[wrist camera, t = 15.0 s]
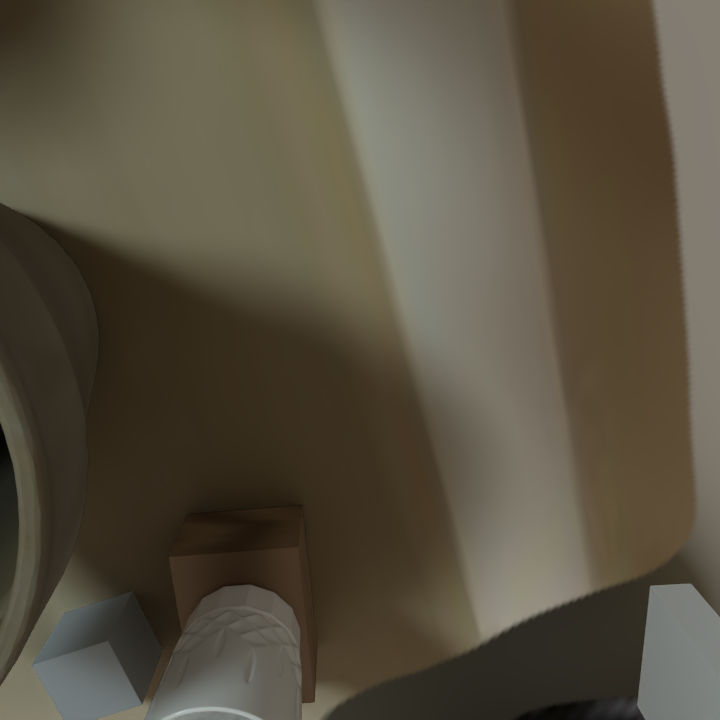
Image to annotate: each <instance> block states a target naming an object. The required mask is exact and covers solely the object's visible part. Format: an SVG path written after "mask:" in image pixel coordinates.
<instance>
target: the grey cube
mask: <svg viewBox="0 0 720 720" xmlns="http://www.w3.org/2000/svg"><path fill="white" fill-rule="evenodd" d="M161 652H162V648H161V646H160V644H159V642H158V640H157V638H156V636H155V634H154V632H153V630H152V628H151V626H150V624H149V622H148V620H147V619H146V617H145V615H144V613H143V611H142V609H141V607H140V605H139V603H138V601H137V599H136V597H135V595H134V593H133V591H131V592H128V593H125V594H122V595H119V596H116V597H113V598H110V599H107V600H103V601H100V602H97V603H94V604H91V605H88V606H85V607H82V608H79V609H76V610H73V611H70V612H66V613H64V614H63V616H62V618H61V619H60V621H59V622H58V624H57V626H56V627H55V629H54V630H53V632H52V633H51V635H50V637H49V638H48V640H47V641H46V643H45V645H44V646H43V648H42V649H41V651H40V653H39V654H38V656H37V657H36V659H35V661H34V662H33V664H32V667H33V669H34V670H35V672H36V674H37V675H38V677H39V679H40V681H41V682H42V684H43V686H44V687H45V689H46V691H47V693H48V694H49V696H50V698H51V699H52V701H53V703H54V705H55V706H56V708H57V710H58V711H59V713H60V715H61V716H62V718H63V720H95V719H98V718H101V717H105V716H108V715H111V714H114V713H117V712H120V711H124V710H127V709H130V708H133V707H136V706H140V705H142V704H143V701H144V698H145V696H146V693H147V690H148V687H149V685H150V682H151V679H152V677H153V674H154V671H155V669H156V666H157V663H158V660H159V658H160V655H161Z"/></svg>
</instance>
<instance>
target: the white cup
mask: <svg viewBox="0 0 720 720" xmlns="http://www.w3.org/2000/svg"><path fill="white" fill-rule="evenodd" d="M301 671H302V670H301V662H300V627H299V624H298V622H297V619H296V617H295V614H294V611H293V609H292V607H290V606H289V605H288V604H287V603H286V602H285V601H284V600H283V599H281V598H280V597H279V596H278V595H277V594H276V593H275V592H272V591H269V590H266V589H263V588H260V587H257V586H254V585H250V584H249V585H236V586H225V587H223V588H221V589H219V590H217V591H215V592H213V593H211V594H209V595H207V596H206V597H204V598H202V600H201V601H200V602H199V604H198V605H197V607H196V608H195V609H194V611H193V612H192V614H191V615H190V616H189V618H188V621H187V623H186V626H185V628H184V631H183V633H182V636H181V637H180V639H179V641H178V643H177V645H176V647H175V649H174V651H173V653H172V655H171V658H170V661H169V663H168V665H167V667H166V669H165V671H164V673H163V675H162V678H161V680H160V682H159V685H158V687H157V690H156V692H155V695H154V697H153V700H152V702H151V704H150V707H149V709H148V712H147V714H146V717H145V719H144V720H302V689H301V686H302V672H301Z"/></svg>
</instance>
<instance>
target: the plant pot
mask: <svg viewBox="0 0 720 720" xmlns="http://www.w3.org/2000/svg"><path fill="white" fill-rule="evenodd" d="M98 354H99V333H98V321H97V316H96V311H95V307H94V304H93V300H92V297H91V293H90V291H89V289H88V287H87V285H86V282H85V280H84V278H83V277H82V275H81V273H80V271H79V270H78V268H77V266H76V265H75V263H74V262H73V260H72V259H71V258H70V257H69V256H68V254H67V253H66V252H65V251H64V249H63V248H62V247H61V246H60V245H59V244H58V243H57V242H56V241H55V240H54V239H53V238H52V237H51V236H50V235H49V234H47V233H46V232H45V231H44V230H43V229H41V228H40V227H39V226H38V225H36V224H35V223H33V222H32V221H31V220H29V219H28V218H26V217H25V216H23V215H21V214H20V213H18V212H16V211H14V210H12V209H11V208H9V207H7V206H5V205H3V204H1V203H0V686H1V684H2V683H3V681H4V680H5V678H6V676H7V675H8V673H9V672H10V670H11V669H12V667H13V666H14V664H15V662H16V661H17V659H18V657H19V655H20V654H21V652H22V650H23V648H24V646H25V644H26V642H27V640H28V638H29V636H30V634H31V632H32V630H33V628H34V627H35V625H36V623H37V621H38V619H39V617H40V615H41V614H42V612H43V610H44V608H45V606H46V604H47V603H48V601H49V599H50V597H51V595H52V594H53V592H54V590H55V588H56V586H57V584H58V583H59V581H60V579H61V577H62V575H63V574H64V571H65V569H66V567H67V564H68V562H69V559H70V557H71V554H72V552H73V550H74V547H75V544H76V540H77V537H78V533H79V530H80V526H81V522H82V518H83V515H84V507H85V500H86V492H87V482H88V462H89V454H88V441H87V427H86V418H87V413H88V409H89V404H90V399H91V395H92V390H93V386H94V381H95V375H96V369H97V363H98Z"/></svg>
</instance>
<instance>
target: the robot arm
mask: <svg viewBox="0 0 720 720" xmlns="http://www.w3.org/2000/svg"><path fill="white" fill-rule="evenodd" d="M639 686H640V687H639V695H638V704H637V706H638V707H639V709H640V711H641V713H642V714H643V716H644V718H645V720H720V617H719V616H718V615H717V613H716V612H715V611H714V610H713V609H712V608H711V607H710V605H709V604H708V603H707V602H706V601H705V599H704V598H703V597H702V596H701V595H700V594H699V592H698V591H697V590H696V589H695V588H694V587H693V585H692V584H673V585H656V586H650V593H649V602H648V612H647V621H646V630H645V640H644V648H643V658H642V667H641V677H640V685H639Z"/></svg>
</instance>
